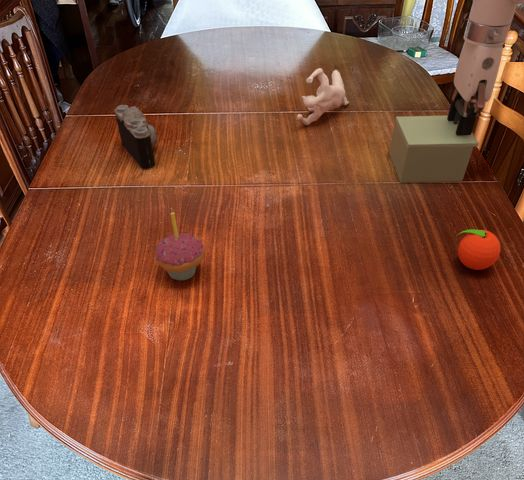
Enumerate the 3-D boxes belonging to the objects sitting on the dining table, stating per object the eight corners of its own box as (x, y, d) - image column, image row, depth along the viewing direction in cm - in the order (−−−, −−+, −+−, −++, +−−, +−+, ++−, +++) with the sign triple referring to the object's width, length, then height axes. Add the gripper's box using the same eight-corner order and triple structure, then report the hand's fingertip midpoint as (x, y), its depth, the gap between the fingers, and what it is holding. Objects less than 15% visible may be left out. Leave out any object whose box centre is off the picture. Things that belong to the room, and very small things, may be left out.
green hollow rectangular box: (446, 152, 118) (456, 119, 112) (462, 181, 110) (473, 147, 104) (388, 153, 118) (395, 120, 112) (400, 182, 110) (407, 148, 104)
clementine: (441, 266, 92) (452, 234, 86) (455, 246, 95) (466, 214, 90) (485, 283, 89) (500, 250, 83) (497, 261, 92) (512, 229, 87)
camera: (170, 163, 116) (163, 119, 108) (142, 171, 114) (133, 127, 106) (145, 136, 124) (137, 94, 117) (119, 143, 122) (109, 101, 114)
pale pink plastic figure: (311, 54, 130) (309, 68, 116) (359, 68, 131) (362, 84, 117) (297, 107, 138) (293, 126, 124) (342, 120, 139) (343, 140, 125)
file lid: (460, 118, 112) (468, 90, 108) (477, 146, 104) (487, 117, 100) (395, 120, 112) (400, 91, 108) (407, 148, 104) (414, 119, 99)
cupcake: (155, 262, 93) (143, 205, 84) (200, 253, 94) (193, 196, 85) (164, 292, 87) (152, 235, 78) (211, 282, 89) (205, 225, 80)
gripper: (523, 47, 88) (489, 147, 102) (491, 15, 99) (464, 109, 113) (481, 48, 88) (452, 147, 102) (453, 16, 99) (430, 109, 113)
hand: (458, 126), depth 107 cm, fingers closed on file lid, 5 cm apart
